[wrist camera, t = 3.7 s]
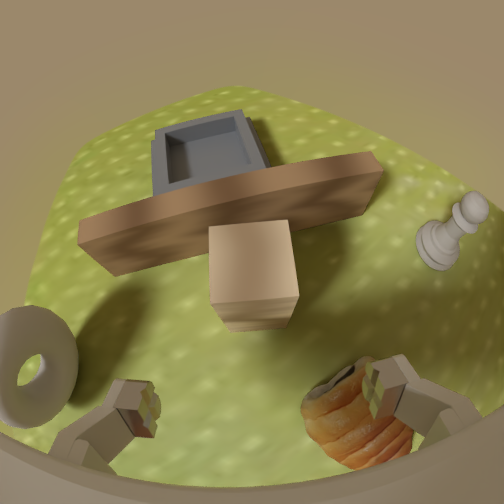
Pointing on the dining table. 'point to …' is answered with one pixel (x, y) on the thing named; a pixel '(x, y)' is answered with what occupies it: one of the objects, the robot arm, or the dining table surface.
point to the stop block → (252, 275)
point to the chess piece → (451, 231)
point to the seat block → (205, 151)
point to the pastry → (353, 422)
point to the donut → (50, 371)
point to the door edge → (228, 210)
